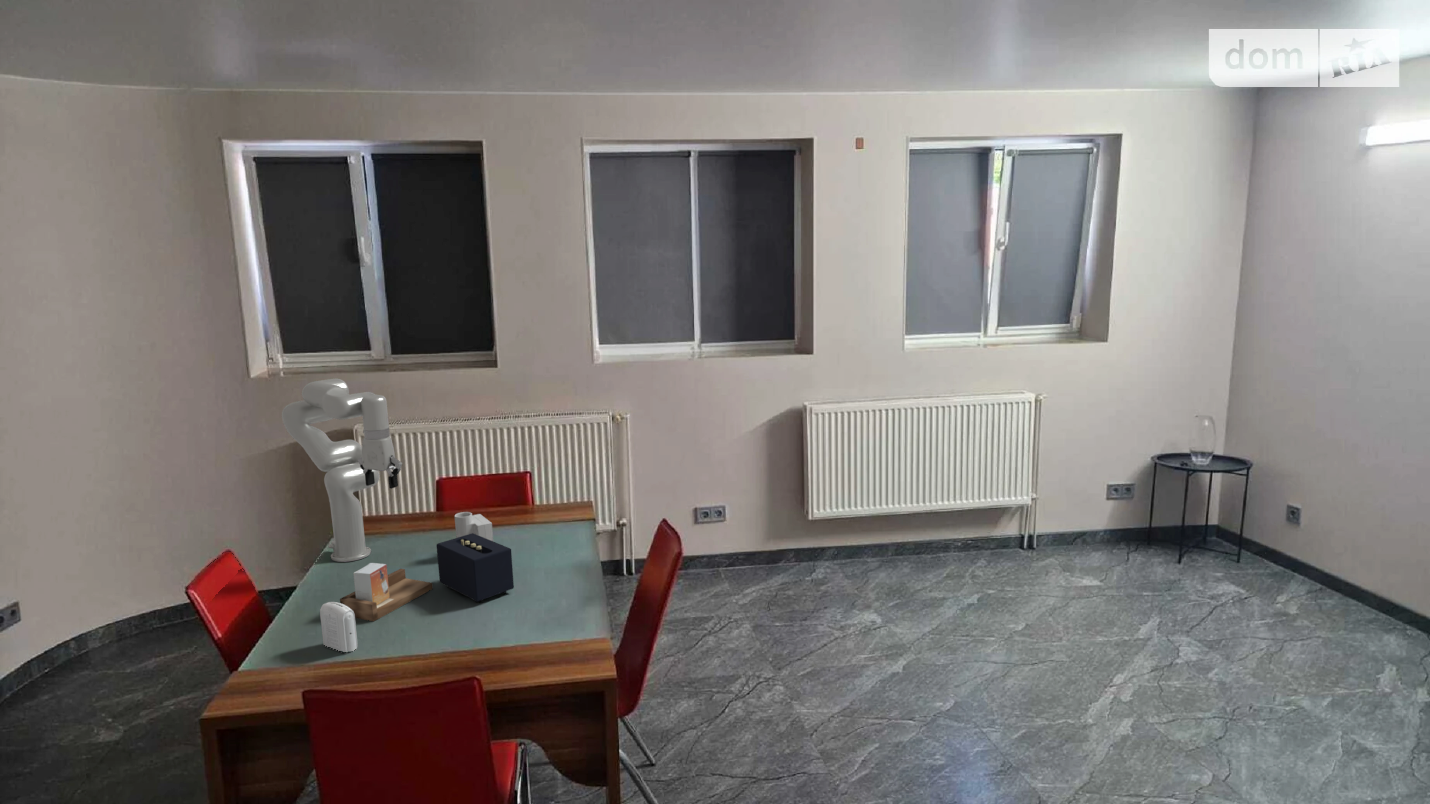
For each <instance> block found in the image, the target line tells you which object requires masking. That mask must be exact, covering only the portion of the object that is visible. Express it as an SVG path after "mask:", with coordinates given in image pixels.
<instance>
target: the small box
mask: <svg viewBox="0 0 1430 804" xmlns="http://www.w3.org/2000/svg"><path fill="white" fill-rule="evenodd" d="M388 575H389V574H388V565H387V564H386V563H379V562H378V563H377V562H369V563H368V564H366V565H365V566H363V567H361V568H360V569H358V570H356V571H354V572H353V583H354V592H355V594H356V599H360V600H365V601H370V602H376V604H377V605H378V604H380V603H381V602H383V601H385V600H386V599H388V598H389V586H388Z"/></svg>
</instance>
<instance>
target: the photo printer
mask: <svg viewBox="0 0 1430 804" xmlns="http://www.w3.org/2000/svg"><path fill="white" fill-rule="evenodd" d="M319 616H320V617H319V618H320V625H321V634H322V644H323V646H324V645H325V646H324V647H326V646H327V647H326V648H328V647H331V648H333V649H332V650H334V649H336V650H335V651H337V650H338V651H337V652H339V651H343V652H348V651H353V652H355V651H356V650H357V649H358V636H357V635H358V634H357V626H356V625H357V623H356V618H355V614H354V612H353V611H352V610H351V609H350V608H349V607H347V606H346V605H344V604H341V603H340V602H336V601H328V602H325V603H323V604H322V605H321V607H320V609H319ZM331 648H330V649H331ZM355 649H356V650H355ZM354 650H355V651H354Z"/></svg>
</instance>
